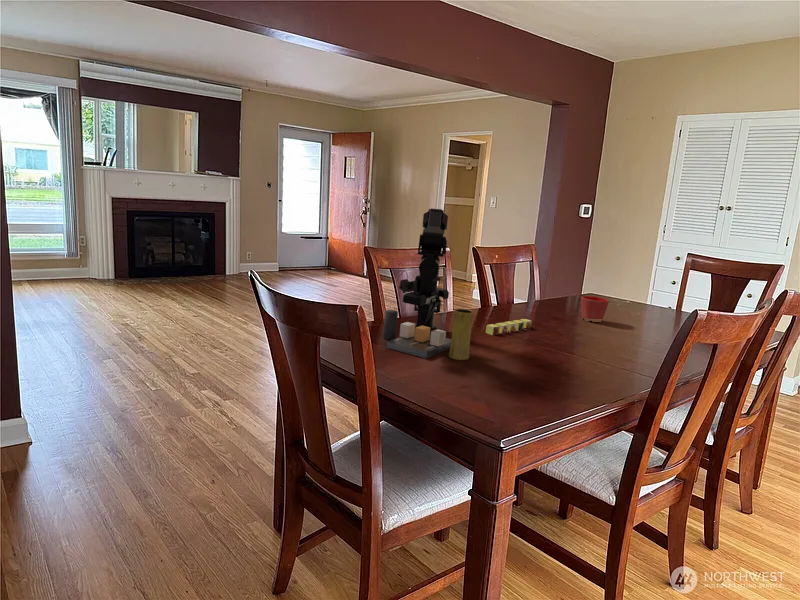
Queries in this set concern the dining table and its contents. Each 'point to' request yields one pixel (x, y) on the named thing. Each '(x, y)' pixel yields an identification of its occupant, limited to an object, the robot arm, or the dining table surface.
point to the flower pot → (594, 307)
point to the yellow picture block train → (508, 326)
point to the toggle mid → (422, 333)
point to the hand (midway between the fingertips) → (423, 323)
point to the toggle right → (438, 337)
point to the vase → (461, 334)
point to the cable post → (390, 324)
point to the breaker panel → (417, 346)
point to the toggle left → (407, 330)
